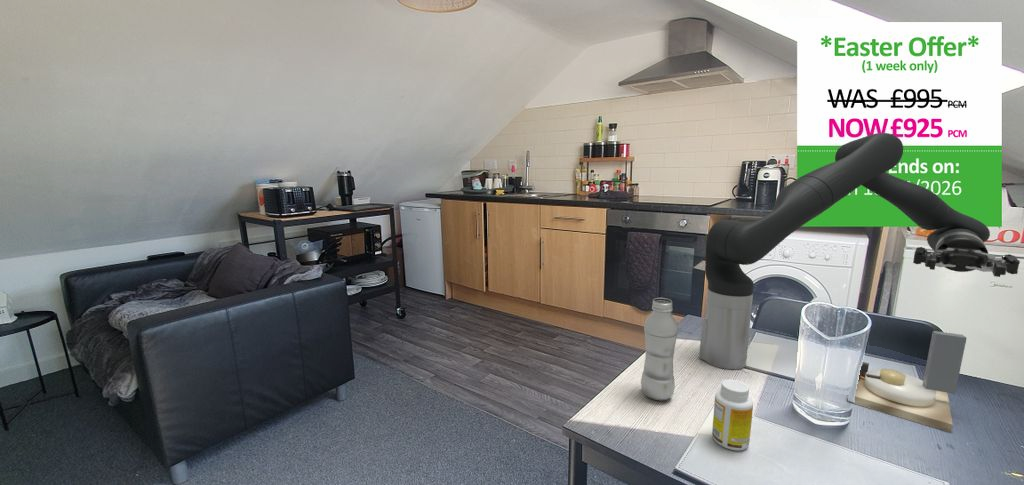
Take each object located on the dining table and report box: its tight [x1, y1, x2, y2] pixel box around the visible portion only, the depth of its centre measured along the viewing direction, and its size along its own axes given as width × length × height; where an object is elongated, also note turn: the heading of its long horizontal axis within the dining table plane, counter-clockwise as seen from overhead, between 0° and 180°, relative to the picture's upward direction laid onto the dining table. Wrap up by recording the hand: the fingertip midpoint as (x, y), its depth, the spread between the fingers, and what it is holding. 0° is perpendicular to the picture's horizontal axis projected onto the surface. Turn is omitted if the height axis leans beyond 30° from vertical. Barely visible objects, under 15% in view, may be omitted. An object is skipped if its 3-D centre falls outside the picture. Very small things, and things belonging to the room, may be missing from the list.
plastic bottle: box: [640, 297, 679, 402], centre depth 81 cm, size 6×7×20 cm
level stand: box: [854, 361, 954, 433], centre depth 80 cm, size 14×14×4 cm
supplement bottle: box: [711, 378, 754, 452], centre depth 68 cm, size 6×6×10 cm
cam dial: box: [864, 330, 967, 407], centre depth 78 cm, size 12×10×13 cm
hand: (964, 268), depth 79 cm, fingers open, 8 cm apart
